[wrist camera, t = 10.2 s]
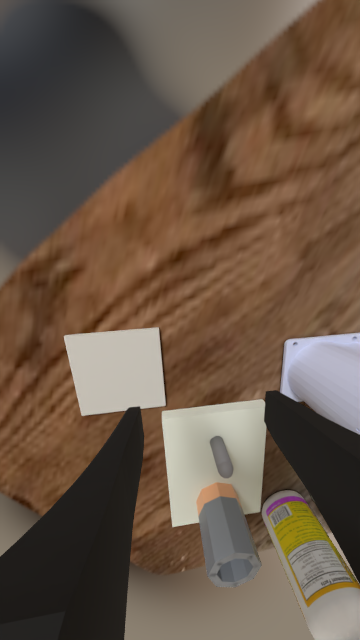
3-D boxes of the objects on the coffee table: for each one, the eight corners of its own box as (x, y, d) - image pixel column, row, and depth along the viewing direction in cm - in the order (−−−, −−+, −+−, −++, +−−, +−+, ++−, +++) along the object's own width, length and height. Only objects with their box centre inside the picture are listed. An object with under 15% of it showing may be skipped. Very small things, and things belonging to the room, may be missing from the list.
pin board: (262, 399, 22) (290, 434, 17) (255, 501, 26) (277, 552, 21) (161, 411, 21) (162, 452, 16) (172, 515, 25) (174, 572, 20)
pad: (158, 327, 19) (158, 328, 18) (165, 403, 21) (165, 405, 20) (65, 335, 18) (63, 336, 17) (83, 413, 20) (81, 415, 20)
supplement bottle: (296, 519, 28) (402, 712, 16) (255, 521, 27) (333, 726, 15) (307, 486, 27) (435, 671, 14) (264, 487, 26) (360, 686, 13)
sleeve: (226, 476, 23) (249, 545, 17) (241, 500, 24) (266, 572, 18) (191, 494, 23) (201, 568, 17) (207, 517, 24) (222, 593, 19)
